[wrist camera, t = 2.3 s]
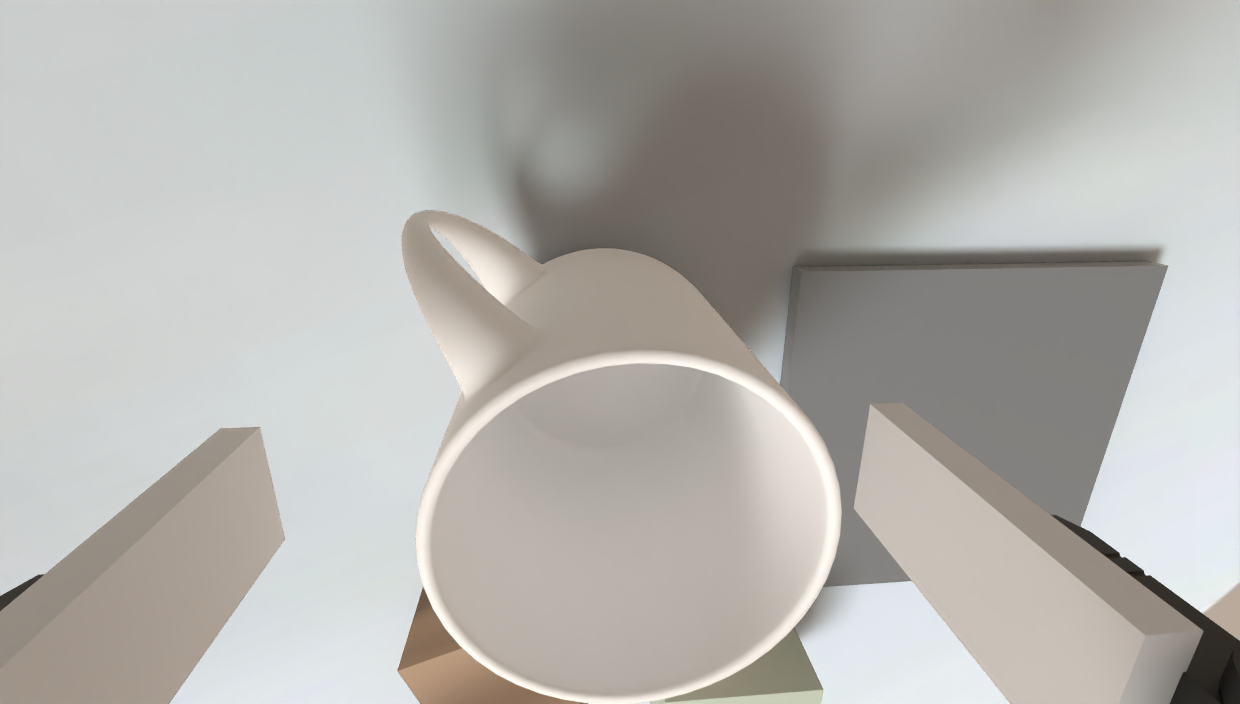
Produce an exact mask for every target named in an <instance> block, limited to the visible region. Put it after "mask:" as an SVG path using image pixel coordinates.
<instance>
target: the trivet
mask: <svg viewBox="0 0 1240 704" xmlns="http://www.w3.org/2000/svg"><path fill="white" fill-rule="evenodd" d="M1167 268H1168V266H1167V265H1163V264H1158V263H1153V262H1149V261H1136V262H1073V263H1011V264H948V265H886V266H823V267H793V273H792V282H791V291H790V300H789V309H788V318H787V327H786V336H785V345H784V355H783V364H782V373H781V382H780V386H781V387H782V388H783V389H784V390H785V392H786V393H787V394H788V395H789V396H790V397H791V398H792V400H793V401H794V402H795V403H796V404H797V405H798V407H799V408H800V409H801V410H802V411H803V412H804V414H805V415H806V416H807V417H808V418H809V419H810V420H811V422H812V423H813V425H814V426H815V428H816V429H817V431H818V433H819V434H820V436H821V437H822V439H823V441H824V442H825V444H826V447H827V449H828V451H829V454H830V456H831V458H832V461H833V463H834V466H835V470H836V474H837V478H838V482H839V486H840V497H841V509H842V516H841V530H840V538H839V542H838V547H837V551H836V556H835V559H834V561H833V564H832V567H831V569H830V572H829V575H828V577H827V580H826V581H825V583H824V585H823V587H828V586H843V585H858V584H873V583H888V582H903V581H912V580H911V579H910V578H909V577H908V575H907V574H906V573H905V572H904V571H903V569H902V568H901V567H900V566H899V564H898V563H897V562H896V561H895V559H894V558H893V557H892V556H891V554H890V553H889V552H888V551H887V549H886V548H885V547H884V546H883V544H882V543H881V542H880V541H879V539H878V538H877V537H876V536H875V534H874V533H873V532H872V531H871V529H870V528H869V527H868V526H867V524H866V523H865V522H864V521H863V519H862V518H861V517H860V516H859V514H858V513H857V512H856V511H855V509H854V503H855V496H856V490H857V484H858V477H859V471H860V465H861V459H862V452H863V446H864V440H865V434H866V427H867V421H868V415H869V408H870V404H885V403H903V404H905V405H906V406H907V407H909V408H910V409H911V410H913V411H914V412H915V413H917V414H918V415H919V416H921V417H922V418H923V419H925V420H926V421H927V422H928V423H930V424H931V425H932V426H934V427H935V428H936V429H938V430H939V431H940V432H942V433H943V434H944V435H946V436H947V437H948V438H950V439H951V440H952V441H954V442H955V443H956V444H958V445H959V446H960V447H961V448H963V449H964V450H965V451H967V452H968V453H969V454H971V455H972V456H973V457H975V458H976V459H977V460H979V461H980V462H981V463H983V464H984V465H985V466H987V467H988V468H989V469H991V470H992V471H993V472H994V473H996V474H997V475H998V476H1000V477H1001V478H1002V479H1004V480H1005V481H1006V482H1008V483H1009V484H1010V485H1012V486H1013V487H1014V488H1016V489H1017V490H1018V491H1020V492H1021V493H1022V494H1024V495H1025V496H1026V497H1027V498H1029V499H1030V500H1031V501H1033V502H1034V503H1035V504H1037V505H1038V506H1039V507H1041V508H1042V509H1043V510H1045V511H1046V512H1047V513H1049V514H1050V515H1057V516H1059V517H1061V518H1063V519H1065V520H1067V521H1069V522H1071V523H1073V524H1076V525H1078V526H1081V523H1082V520H1083V517H1084V514H1085V511H1086V508H1087V505H1088V502H1089V499H1090V496H1091V493H1092V490H1093V487H1094V484H1095V481H1096V478H1097V475H1098V473H1099V470H1100V467H1101V464H1102V461H1103V458H1104V455H1105V452H1106V449H1107V446H1108V443H1109V440H1110V437H1111V434H1112V431H1113V428H1114V425H1115V422H1116V419H1117V416H1118V413H1119V410H1120V407H1121V404H1122V401H1123V398H1124V395H1125V392H1126V390H1127V387H1128V384H1129V381H1130V378H1131V375H1132V372H1133V369H1134V366H1135V363H1136V360H1137V357H1138V354H1139V351H1140V348H1141V345H1142V342H1143V339H1144V336H1145V333H1146V330H1147V327H1148V324H1149V321H1150V318H1151V315H1152V312H1153V309H1154V307H1155V304H1156V301H1157V298H1158V295H1159V292H1160V289H1161V286H1162V283H1163V280H1164V277H1165V274H1166V271H1167Z"/></svg>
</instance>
